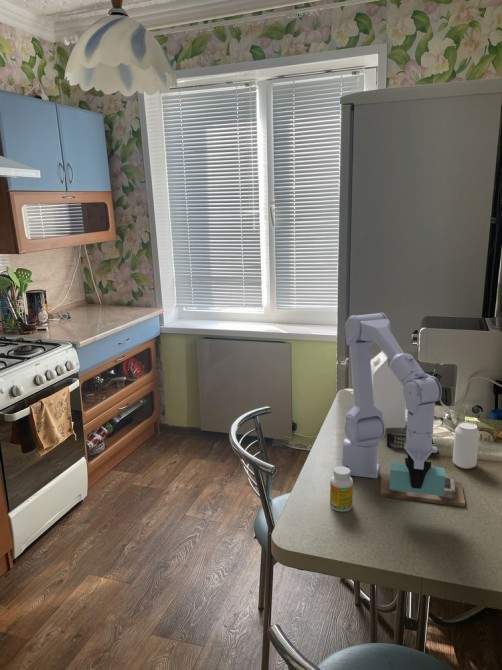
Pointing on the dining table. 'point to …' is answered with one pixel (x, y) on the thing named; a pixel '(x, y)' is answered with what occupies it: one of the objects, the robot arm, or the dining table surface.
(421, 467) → the robot arm
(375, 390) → the milk
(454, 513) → the dining table surface
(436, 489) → the teal rectangular block
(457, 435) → the beverage can
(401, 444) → the mobile phone
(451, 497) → the wooden bracket tray
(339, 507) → the supplement bottle
